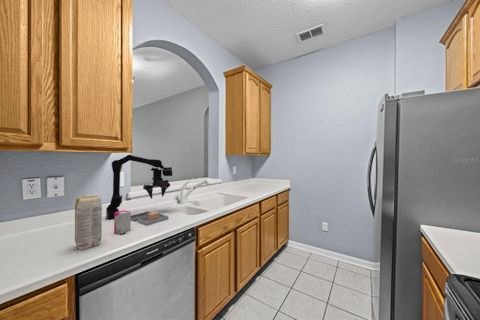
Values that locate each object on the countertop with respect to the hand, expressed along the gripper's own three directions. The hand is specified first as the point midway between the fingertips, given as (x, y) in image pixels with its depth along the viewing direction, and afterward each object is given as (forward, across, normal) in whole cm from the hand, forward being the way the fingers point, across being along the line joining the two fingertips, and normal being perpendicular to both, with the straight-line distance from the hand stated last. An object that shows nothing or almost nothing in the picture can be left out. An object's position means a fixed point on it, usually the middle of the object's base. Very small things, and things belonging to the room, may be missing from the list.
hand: (157, 197), depth 142 cm
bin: (+12, -12, -1) cm, 17 cm away
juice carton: (+12, -49, -20) cm, 54 cm away
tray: (+12, -12, -14) cm, 22 cm away
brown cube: (+12, -12, -14) cm, 22 cm away
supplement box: (+12, -32, -16) cm, 38 cm away
